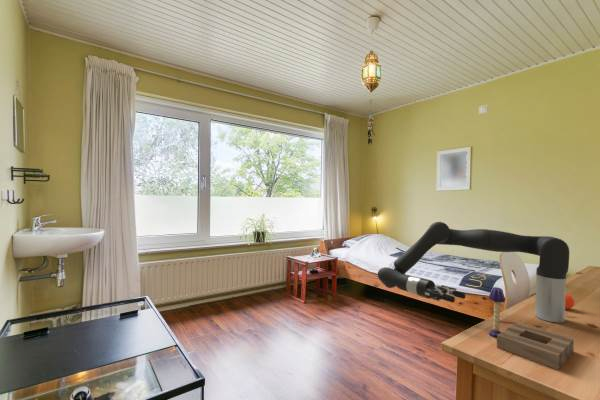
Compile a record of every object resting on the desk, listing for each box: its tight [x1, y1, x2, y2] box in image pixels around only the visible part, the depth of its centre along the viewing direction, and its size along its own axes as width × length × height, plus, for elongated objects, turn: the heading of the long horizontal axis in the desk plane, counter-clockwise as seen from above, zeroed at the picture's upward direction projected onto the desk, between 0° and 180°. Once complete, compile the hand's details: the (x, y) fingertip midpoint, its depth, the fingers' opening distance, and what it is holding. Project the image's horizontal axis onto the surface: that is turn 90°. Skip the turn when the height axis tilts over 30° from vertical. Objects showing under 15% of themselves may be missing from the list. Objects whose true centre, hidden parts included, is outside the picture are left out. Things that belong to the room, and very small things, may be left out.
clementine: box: [565, 293, 575, 310], centre depth 133 cm, size 8×7×7 cm
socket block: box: [496, 322, 575, 370], centre depth 93 cm, size 18×15×4 cm
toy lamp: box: [488, 286, 506, 339], centre depth 102 cm, size 5×5×17 cm
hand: (459, 297), depth 112 cm, fingers open, 8 cm apart
